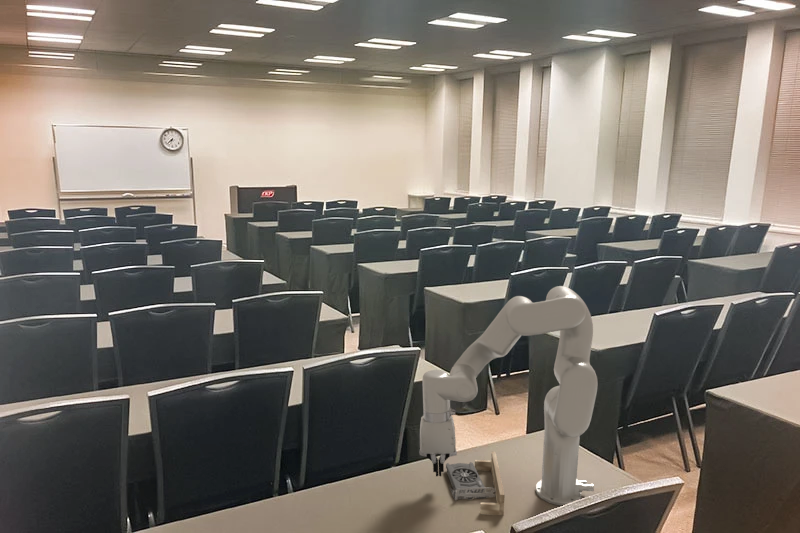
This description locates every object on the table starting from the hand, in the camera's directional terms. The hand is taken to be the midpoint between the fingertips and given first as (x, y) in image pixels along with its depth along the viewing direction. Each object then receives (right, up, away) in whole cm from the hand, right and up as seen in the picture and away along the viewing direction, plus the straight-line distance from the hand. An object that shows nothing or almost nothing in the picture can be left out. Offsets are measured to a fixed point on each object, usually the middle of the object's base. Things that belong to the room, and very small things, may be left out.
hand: (438, 473), depth 163 cm
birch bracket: (+14, -5, 0) cm, 15 cm away
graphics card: (+9, -5, +3) cm, 11 cm away
